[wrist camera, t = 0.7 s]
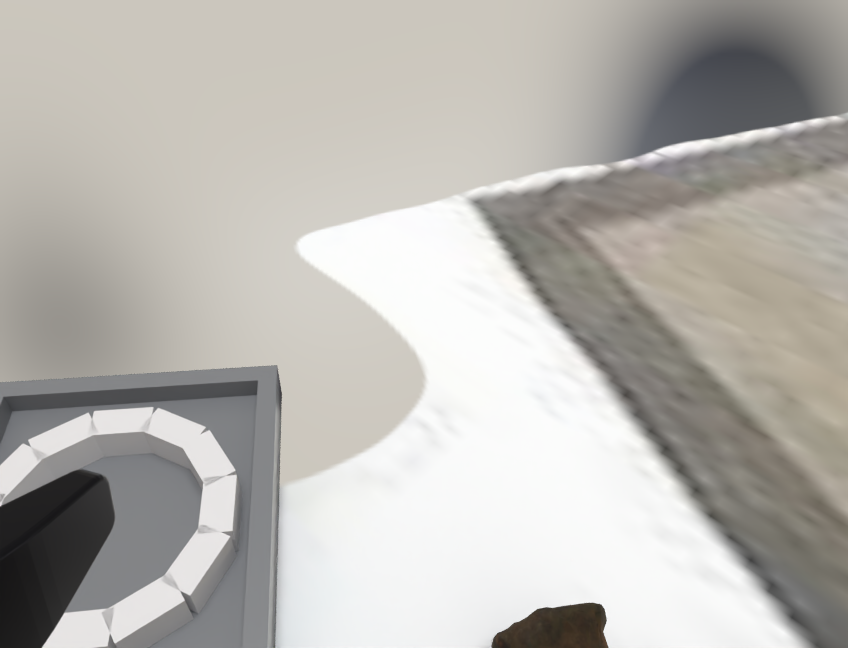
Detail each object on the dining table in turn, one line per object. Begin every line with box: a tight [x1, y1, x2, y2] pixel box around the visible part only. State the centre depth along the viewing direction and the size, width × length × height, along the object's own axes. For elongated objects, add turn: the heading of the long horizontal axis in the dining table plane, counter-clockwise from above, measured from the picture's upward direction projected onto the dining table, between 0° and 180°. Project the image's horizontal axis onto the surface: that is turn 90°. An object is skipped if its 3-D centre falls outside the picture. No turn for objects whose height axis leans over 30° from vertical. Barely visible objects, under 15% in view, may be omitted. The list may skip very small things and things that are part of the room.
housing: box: [0, 365, 282, 648], centre depth 25 cm, size 14×12×2 cm
